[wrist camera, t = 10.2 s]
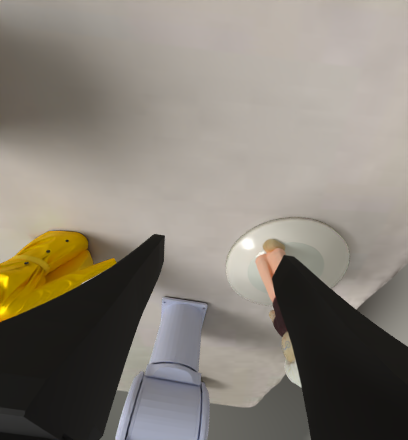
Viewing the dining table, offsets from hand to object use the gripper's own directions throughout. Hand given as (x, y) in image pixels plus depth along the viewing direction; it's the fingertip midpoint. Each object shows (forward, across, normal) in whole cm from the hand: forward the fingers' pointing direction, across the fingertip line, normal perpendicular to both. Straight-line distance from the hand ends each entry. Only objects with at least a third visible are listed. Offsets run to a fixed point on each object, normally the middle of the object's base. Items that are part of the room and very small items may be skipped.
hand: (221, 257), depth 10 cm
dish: (+10, -11, +9) cm, 18 cm away
